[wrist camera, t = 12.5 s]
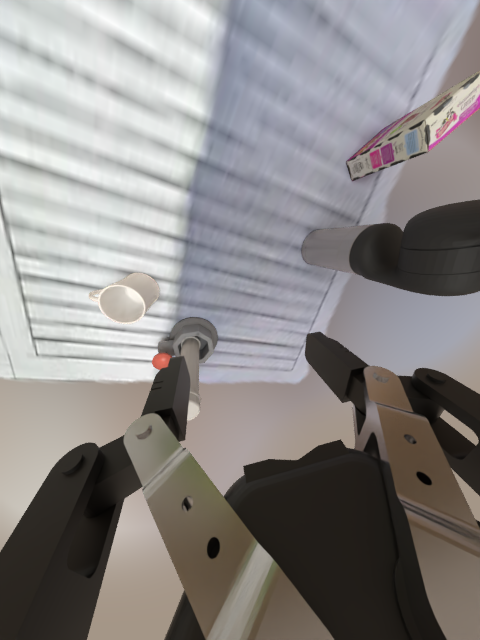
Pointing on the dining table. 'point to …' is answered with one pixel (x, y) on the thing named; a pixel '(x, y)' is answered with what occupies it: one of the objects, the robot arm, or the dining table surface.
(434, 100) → the candy bar box
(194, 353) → the pipe
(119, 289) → the mug
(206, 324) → the valve socket
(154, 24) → the dining table surface
